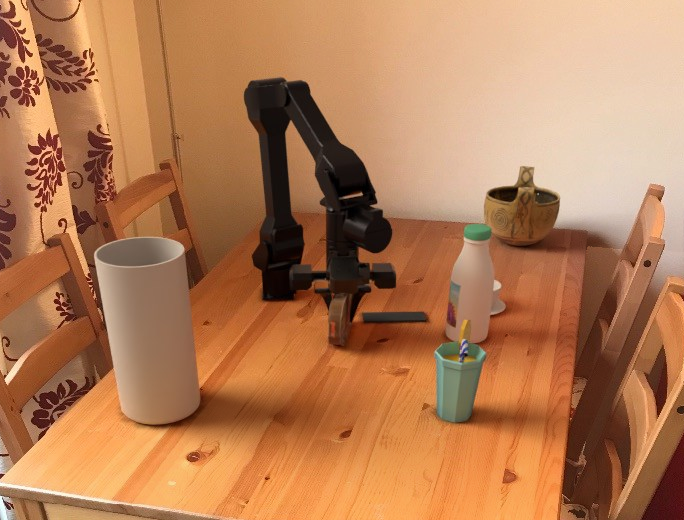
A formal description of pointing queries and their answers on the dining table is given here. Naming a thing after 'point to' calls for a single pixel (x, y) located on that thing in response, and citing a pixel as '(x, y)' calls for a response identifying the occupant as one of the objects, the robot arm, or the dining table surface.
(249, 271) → the dining table surface
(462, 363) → the cup
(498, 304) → the teacup
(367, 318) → the strip
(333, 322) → the tin
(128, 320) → the cylinder vase
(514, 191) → the ceramic bowl
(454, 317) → the milk bottle
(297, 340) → the dining table surface
